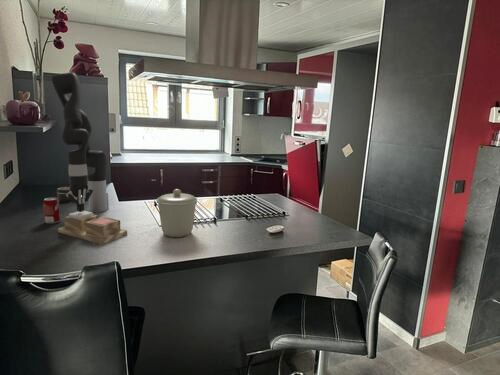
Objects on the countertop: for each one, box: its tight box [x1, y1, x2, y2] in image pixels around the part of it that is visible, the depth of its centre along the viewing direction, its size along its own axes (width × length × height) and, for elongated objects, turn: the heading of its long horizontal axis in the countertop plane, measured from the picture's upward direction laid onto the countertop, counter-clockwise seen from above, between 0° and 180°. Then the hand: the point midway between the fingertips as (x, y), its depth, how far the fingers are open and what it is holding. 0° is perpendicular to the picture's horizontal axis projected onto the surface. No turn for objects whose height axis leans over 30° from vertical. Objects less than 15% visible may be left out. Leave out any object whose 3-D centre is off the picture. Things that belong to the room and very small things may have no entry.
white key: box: [68, 210, 94, 220], centre depth 160 cm, size 7×7×3 cm
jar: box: [56, 186, 74, 203], centre depth 215 cm, size 10×10×8 cm
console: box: [57, 213, 128, 245], centre depth 158 cm, size 14×28×7 cm, turn 63°
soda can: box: [42, 197, 61, 225], centre depth 171 cm, size 7×7×12 cm
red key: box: [91, 217, 115, 225], centre depth 154 cm, size 7×7×3 cm
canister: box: [155, 188, 198, 238], centre depth 160 cm, size 18×18×21 cm
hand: (80, 211), depth 160 cm, fingers closed
